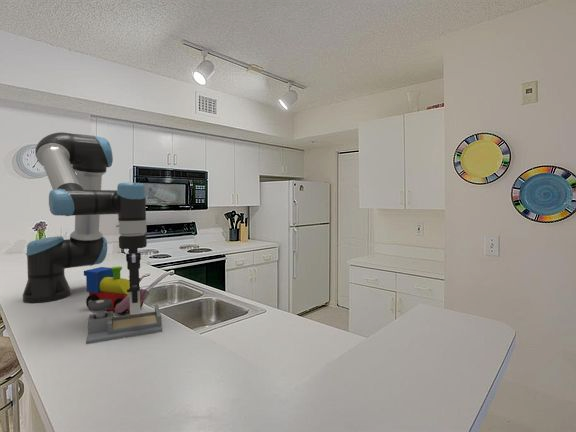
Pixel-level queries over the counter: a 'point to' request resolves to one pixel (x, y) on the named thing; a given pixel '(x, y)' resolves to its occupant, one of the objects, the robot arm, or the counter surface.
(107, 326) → the grey tray
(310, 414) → the counter surface
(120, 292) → the toy train
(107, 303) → the wheel cap
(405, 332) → the counter surface
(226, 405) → the counter surface
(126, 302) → the video game controller
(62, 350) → the counter surface
